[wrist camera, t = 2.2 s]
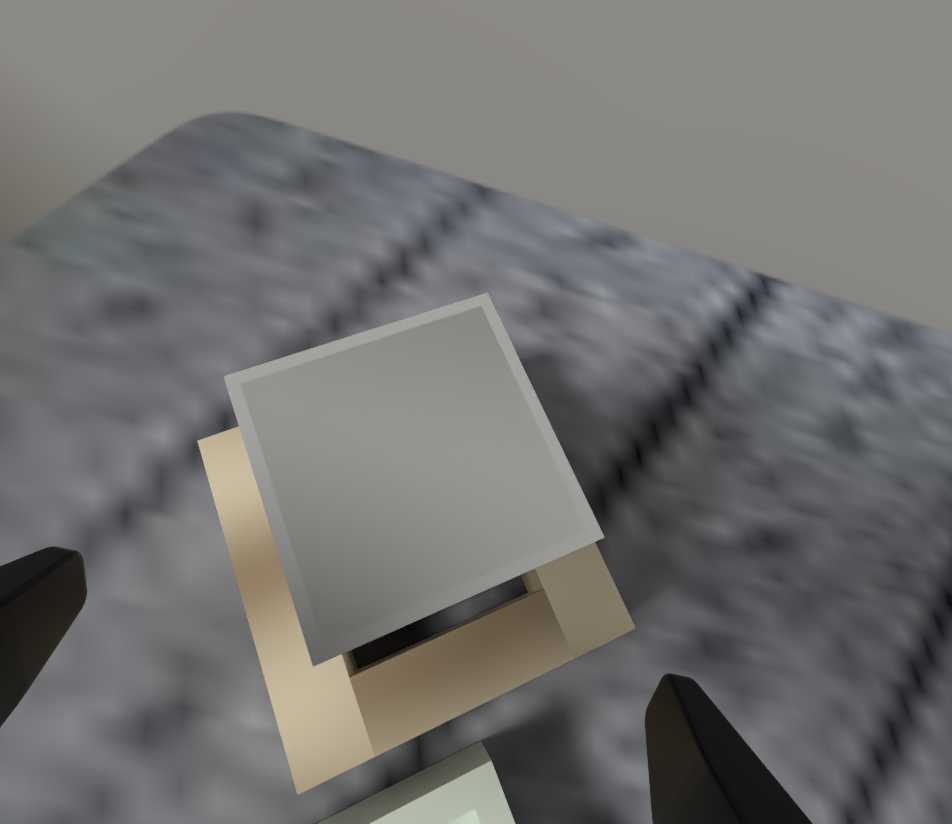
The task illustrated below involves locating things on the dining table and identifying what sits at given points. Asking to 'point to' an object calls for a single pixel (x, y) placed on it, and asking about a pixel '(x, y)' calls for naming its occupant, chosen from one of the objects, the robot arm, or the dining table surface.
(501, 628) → the collar block
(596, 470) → the dining table surface
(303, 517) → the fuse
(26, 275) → the dining table surface
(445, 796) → the tray
